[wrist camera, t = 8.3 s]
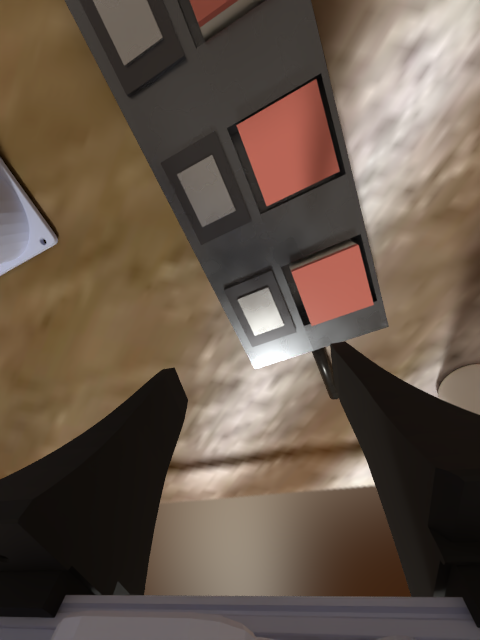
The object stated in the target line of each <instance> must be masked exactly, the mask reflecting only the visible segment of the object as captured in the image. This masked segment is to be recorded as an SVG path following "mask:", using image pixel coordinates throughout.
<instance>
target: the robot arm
mask: <svg viewBox="0 0 480 640" xmlns="http://www.w3.org/2000/svg"><path fill="white" fill-rule="evenodd" d="M44 239H45V240H46V243H45V242H44ZM57 242H58V239H57V236H56V235H55V233H54V232H53V231H52V229H51V228H50V226H49V225H48V224H47V222H46V221H45V219H44V218H43V216H42V215H41V214H40V212H39V211H38V209H37V208H36V207H35V205H34V204H33V202H32V201H31V200H30V198H29V197H28V195H27V194H26V193H25V191H24V190H23V188H22V187H21V186H20V184H19V183H18V181H17V180H16V179H15V177H14V176H13V174H12V173H11V172H10V170H9V169H8V167H7V166H6V165H5V163H4V162H3V160H2V159H1V158H0V276H1V275H2V274H4V273H6V272H8V271H10V270H11V269H13V268H15V267H17V266H18V265H20V264H22V263H24V262H25V261H27V260H29V259H31V258H33V257H34V256H36V255H38V254H40V253H41V252H43V251H45V250H47V249H49V248H50V247H52V246H54V245H56V244H57ZM330 347H331V357H332V368H333V378H334V383H335V387H336V390H337V393H338V396H339V399H340V402H341V404H342V407H343V409H344V411H345V413H346V415H347V418H348V420H349V422H350V424H351V426H352V428H353V431H354V433H355V435H356V437H357V439H358V442H359V444H360V446H361V448H362V450H363V453H364V455H365V458H366V460H367V463H368V465H369V468H370V471H371V474H372V477H373V480H374V483H375V485H376V488H377V491H378V494H379V497H380V500H381V503H382V506H383V509H384V511H385V514H386V518H387V521H388V524H389V527H390V530H391V533H392V536H393V539H394V542H395V546H396V549H397V551H398V555H399V558H400V561H401V564H402V568H403V571H404V574H405V577H406V580H407V584H408V587H409V590H410V593H411V596H412V597H334V596H333V597H332V596H327V597H326V596H324V597H323V596H153V595H152V596H150V595H146V596H145V595H144V590H145V583H146V576H147V570H148V563H149V556H150V551H151V545H152V539H153V533H154V528H155V523H156V518H157V513H158V508H159V503H160V499H161V494H162V490H163V486H164V482H165V477H166V474H167V471H168V467H169V464H170V461H171V458H172V455H173V452H174V449H175V447H176V444H177V441H178V438H179V435H180V432H181V429H182V426H183V422H184V419H185V414H186V409H187V403H188V399H187V397H186V394H185V392H184V389H183V387H182V385H181V382H180V380H179V377H178V375H177V373H176V370H175V368H169V369H163V370H161V371H160V372H159V373H157V374H156V375H155V376H154V377H152V378H151V379H150V380H149V381H148V382H147V383H146V384H144V385H143V386H142V387H141V388H140V389H139V390H138V391H136V392H135V393H134V394H133V395H132V396H131V397H130V398H128V399H127V400H126V401H125V402H124V403H122V404H121V405H120V406H119V407H117V408H116V409H115V410H114V411H113V412H111V413H110V414H109V415H108V416H106V417H105V418H104V419H102V420H101V421H100V422H98V423H97V424H96V425H94V426H93V427H91V428H90V429H88V430H87V431H86V432H84V433H83V434H81V435H80V436H78V437H76V438H75V439H73V440H72V441H70V442H68V443H67V444H65V445H64V446H62V447H60V448H59V449H57V450H56V451H54V452H52V453H50V454H49V455H47V456H45V457H43V458H42V459H40V460H38V461H36V462H34V463H32V464H30V465H29V466H27V467H25V468H23V469H21V470H19V471H17V472H15V473H13V474H11V475H9V476H7V477H5V478H2V479H0V640H480V415H478V414H476V413H473V412H471V411H468V410H465V409H463V408H460V407H458V406H455V405H453V404H451V403H448V402H446V401H443V400H441V399H439V398H437V397H434V396H432V395H430V394H428V393H426V392H424V391H422V390H420V389H418V388H416V387H414V386H412V385H410V384H408V383H406V382H404V381H403V380H401V379H399V378H397V377H396V376H394V375H392V374H391V373H389V372H387V371H386V370H384V369H383V368H381V367H380V366H378V365H377V364H375V363H374V362H372V361H371V360H369V359H368V358H367V357H365V356H364V355H363V354H361V353H360V352H358V351H357V350H356V349H355V348H353V347H352V346H351V345H349V344H348V343H346V342H345V341H344V342H338V343H331V344H330Z"/></svg>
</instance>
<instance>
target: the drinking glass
mask: <svg viewBox="0 0 480 640" xmlns="http://www.w3.org/2000/svg"><path fill="white" fill-rule="evenodd" d="M438 397H439V399H441V400H443V401H446V402H448V403H451V404H453V405H455V406H458V407H460V408H463V409H465V410H468V411H471V412H473V413H476V414H478V415H480V364H473V365H468V366H464V367H461V368H459V369H457V370H455V371H453V372H452V373H450V374H449V375H448V376H447V377H446V378H445V379H444V380H443V381H442V383H441V384H440V387H439V390H438Z"/></svg>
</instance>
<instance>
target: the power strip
mask: <svg viewBox="0 0 480 640" xmlns="http://www.w3.org/2000/svg"><path fill="white" fill-rule="evenodd" d="M65 2H66V4H67V6H68V8H69V10H70V12H71V14H72V15H73V17H74V19H75V21H76V23H77V25H78V27H79V29H80V31H81V33H82V35H83V37H84V39H85V41H86V43H87V45H88V47H89V48H90V50H91V52H92V54H93V56H94V58H95V60H96V62H97V64H98V66H99V68H100V70H101V72H102V74H103V76H104V78H105V80H106V82H107V83H108V85H109V87H110V89H111V91H112V93H113V95H114V97H115V99H116V101H117V103H118V105H119V107H120V109H121V111H122V113H123V115H124V117H125V118H126V120H127V122H128V124H129V126H130V128H131V130H132V132H133V134H134V136H135V138H136V140H137V142H138V144H139V146H140V148H141V150H142V151H143V153H144V155H145V157H146V159H147V161H148V163H149V165H150V167H151V169H152V171H153V173H154V175H155V177H156V179H157V181H158V183H159V185H160V186H161V188H162V190H163V192H164V194H165V196H166V198H167V200H168V202H169V204H170V206H171V208H172V210H173V212H174V214H175V216H176V218H177V219H178V221H179V223H180V225H181V227H182V229H183V231H184V233H185V235H186V237H187V239H188V241H189V243H190V245H191V247H192V249H193V251H194V253H195V254H196V256H197V258H198V260H199V262H200V264H201V266H202V268H203V270H204V272H205V274H206V276H207V278H208V280H209V282H210V284H211V286H212V288H213V289H214V291H215V293H216V295H217V297H218V299H219V301H220V303H221V305H222V307H223V309H224V311H225V313H226V315H227V317H228V319H229V321H230V322H231V324H232V326H233V328H234V330H235V332H236V334H237V336H238V338H239V340H240V342H241V344H242V346H243V348H244V350H245V352H246V354H247V356H248V357H249V359H250V361H251V363H252V365H253V367H254V369H258V368H261V367H264V366H267V365H270V364H273V363H276V362H280V361H283V360H286V359H289V358H292V357H295V356H298V355H302V354H305V353H308V352H311V351H312V353H313V356H314V358H315V361H316V363H317V366H318V368H319V371H320V373H321V376H322V379H323V381H324V384H325V386H326V389H327V391H328V394H329V396H330V398H331V399H338V398H339V396H338V393H337V390H336V387H335V383H334V378H333V372H332V369H331V367H330V364H329V361H328V359H327V356H326V353H325V350H324V348H323V347H327V346H330V344H331V343H338V342H342V341H345V340H348V339H352V338H355V337H358V336H361V335H364V334H367V333H370V332H374V331H377V330H380V329H383V328H386V327H389V326H388V322H387V318H386V314H385V309H384V305H383V301H382V297H381V293H380V288H379V284H378V280H377V276H376V272H375V267H374V263H373V259H372V255H371V251H370V246H369V242H368V238H367V234H366V230H365V225H364V221H363V217H362V213H361V209H360V204H359V200H358V196H357V192H356V188H355V183H354V179H353V175H352V171H351V167H350V163H349V158H348V154H347V150H346V146H345V142H344V137H343V133H342V129H341V125H340V121H339V116H338V112H337V108H336V104H335V100H334V95H333V91H332V87H331V83H330V79H329V74H328V70H327V66H326V62H325V58H324V53H323V49H322V45H321V41H320V37H319V33H318V28H317V24H316V20H315V16H314V12H313V7H312V3H311V0H265V1H264V2H262V3H261V4H259V5H258V6H256V7H255V8H254V9H252V10H251V11H249V12H248V13H246V14H245V15H243V16H242V17H241V18H239V19H238V20H236V21H235V22H233V23H232V24H230V25H229V26H228V27H226V28H225V29H223V30H222V31H220V32H219V33H217V34H216V35H215V36H213V37H212V38H210V39H209V40H207V41H206V42H205V41H204V38H203V35H202V33H201V30H200V27H199V25H198V22H197V19H196V16H195V14H194V11H193V8H192V6H191V3H190V0H65ZM315 79H316V80H317V84H318V88H319V92H320V96H321V100H322V103H323V107H324V111H325V115H326V119H327V123H328V127H329V131H330V135H331V139H332V143H333V147H334V151H335V155H336V158H337V162H338V166H339V170H340V171H339V172H337V173H335V174H333V175H331V176H329V177H327V178H325V179H323V180H321V181H319V182H317V183H314V184H312V185H310V186H308V187H306V188H304V189H302V190H300V191H298V192H296V193H294V194H292V195H290V196H287V197H285V198H283V199H281V200H279V201H277V202H275V203H273V204H271V205H269V206H266V203H265V201H264V198H263V195H262V193H261V190H260V187H259V185H258V182H257V179H256V177H255V174H254V171H253V169H252V166H251V163H250V161H249V158H248V155H247V153H246V150H245V147H244V145H243V142H242V139H241V137H240V134H239V131H238V128H237V125H238V124H240V123H241V122H243V121H245V120H246V119H248V118H250V117H252V116H253V115H255V114H257V113H259V112H260V111H262V110H264V109H265V108H267V107H269V106H271V105H272V104H274V103H276V102H277V101H279V100H281V99H283V98H284V97H286V96H288V95H289V94H291V93H293V92H295V91H296V90H298V89H300V88H302V87H303V86H305V85H307V84H308V83H310V82H312V81H314V80H315ZM347 239H348V240H350V241H352V242H354V243H356V244H358V245H359V248H360V252H361V256H362V260H363V264H364V268H365V272H366V276H367V280H368V284H369V288H370V292H371V296H372V299H373V303H374V305H372V306H369V307H366V308H363V309H360V310H357V311H354V312H352V313H349V314H346V315H343V316H340V317H337V318H334V319H331V320H328V321H325V322H322V323H320V324H317V325H314V326H311V323H310V321H309V318H308V315H307V313H306V310H305V307H304V305H303V302H302V299H301V297H300V294H299V291H298V289H297V286H296V283H295V281H294V278H293V275H292V273H291V270H290V267H289V265H288V264H289V263H292V262H294V261H297V260H299V259H302V258H304V257H306V256H309V255H311V254H314V253H316V252H318V251H321V250H323V249H326V248H328V247H331V246H333V245H335V244H338V243H340V242H343V241H345V240H347Z"/></svg>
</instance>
